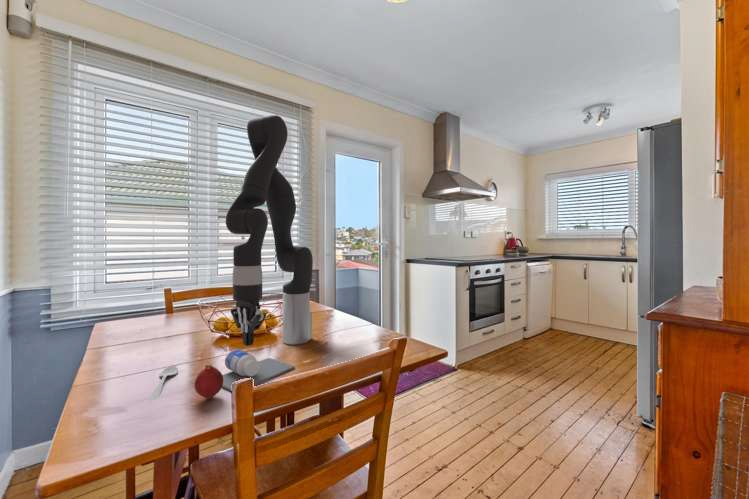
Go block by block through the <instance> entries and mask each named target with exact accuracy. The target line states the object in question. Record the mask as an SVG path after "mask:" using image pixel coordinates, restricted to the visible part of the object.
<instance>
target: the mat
mask: <svg viewBox="0 0 749 499" xmlns="http://www.w3.org/2000/svg"><path fill="white" fill-rule="evenodd" d="M258 362H259V363H260V369H259V371H258V373H257V374H256V375H254V376H241V375H239V374H237V373H235V372H234V371H232V370H231V371H230V372H228V373H224V374H222V375H223V386H222V388H221V389H224V390H226V391H229V392H230V393H232V392H231V385H232V383H233V382H235V381H238V380H240V379H244V378H250V377H251V378H253V379H254V386H253V387H256V386H258V385H260V384H262V383H264V382H266V381H269V380H271V378H272V379H273V377H274V378H276V377H278V376H281V375H283V374H285V373H287V372H286V371H288V370H290V371H292V370H294V369H295V368H296V366H295V365H291V364H289V363H286V362H283V361H280V360H277V359H273V358H270V357H268V358H265V359H262V360H259V361H258ZM293 368H294V369H293ZM291 369H292V370H291ZM284 372H285V373H284ZM288 372H289V371H288ZM282 373H283V374H282ZM280 374H281V375H280ZM275 376H276V377H275ZM268 379H269V380H268Z"/></svg>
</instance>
